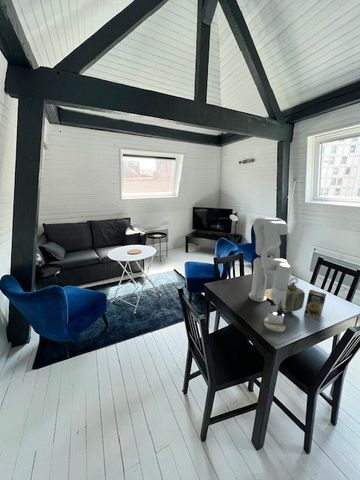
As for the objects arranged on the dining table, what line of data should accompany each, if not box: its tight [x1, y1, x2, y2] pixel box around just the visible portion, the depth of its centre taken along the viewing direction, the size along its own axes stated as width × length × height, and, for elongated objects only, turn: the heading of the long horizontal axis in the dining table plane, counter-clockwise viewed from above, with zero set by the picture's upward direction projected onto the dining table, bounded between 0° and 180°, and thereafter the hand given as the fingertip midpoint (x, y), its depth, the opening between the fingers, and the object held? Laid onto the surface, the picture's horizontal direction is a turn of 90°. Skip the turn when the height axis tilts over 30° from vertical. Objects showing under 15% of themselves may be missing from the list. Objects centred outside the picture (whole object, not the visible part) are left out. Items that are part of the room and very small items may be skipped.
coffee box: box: [303, 289, 327, 321], centre depth 133 cm, size 9×6×16 cm
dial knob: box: [267, 311, 286, 325], centre depth 124 cm, size 10×2×6 cm, turn 78°
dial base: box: [263, 316, 287, 333], centre depth 125 cm, size 12×12×2 cm
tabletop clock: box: [280, 277, 306, 316], centre depth 134 cm, size 14×9×25 cm, turn 113°
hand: (276, 310), depth 123 cm, fingers open, 9 cm apart
